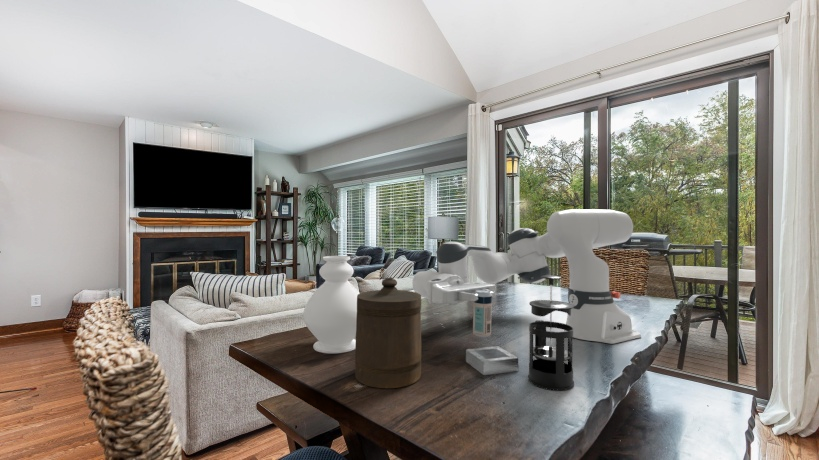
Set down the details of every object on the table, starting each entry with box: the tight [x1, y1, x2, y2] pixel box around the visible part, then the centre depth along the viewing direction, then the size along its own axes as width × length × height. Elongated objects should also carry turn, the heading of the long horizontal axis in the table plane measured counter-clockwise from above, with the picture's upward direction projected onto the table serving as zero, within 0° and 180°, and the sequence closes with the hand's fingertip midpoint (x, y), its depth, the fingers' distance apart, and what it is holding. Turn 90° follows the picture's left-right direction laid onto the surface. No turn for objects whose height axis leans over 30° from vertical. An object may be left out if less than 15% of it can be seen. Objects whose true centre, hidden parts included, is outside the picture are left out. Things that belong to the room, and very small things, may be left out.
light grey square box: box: [465, 345, 519, 376], centre depth 89 cm, size 9×9×3 cm
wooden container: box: [354, 277, 422, 389], centre depth 84 cm, size 15×15×22 cm
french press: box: [527, 274, 575, 392], centre depth 81 cm, size 12×9×23 cm
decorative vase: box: [303, 255, 361, 354], centre depth 104 cm, size 18×18×25 cm
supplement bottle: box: [472, 290, 493, 338], centre depth 100 cm, size 5×5×12 cm
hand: (484, 296), depth 99 cm, fingers closed on supplement bottle, 5 cm apart
